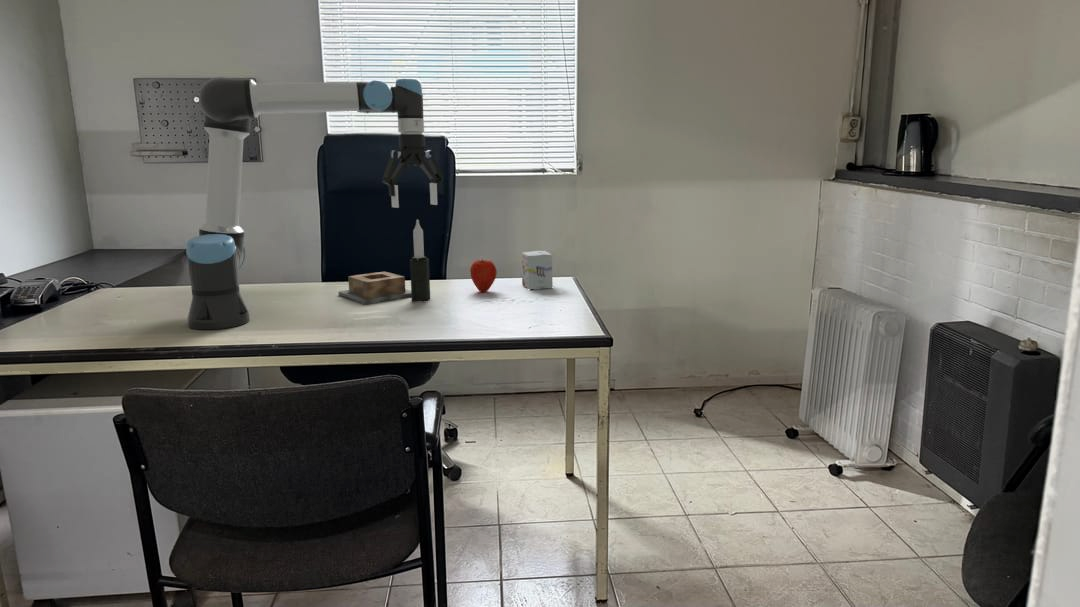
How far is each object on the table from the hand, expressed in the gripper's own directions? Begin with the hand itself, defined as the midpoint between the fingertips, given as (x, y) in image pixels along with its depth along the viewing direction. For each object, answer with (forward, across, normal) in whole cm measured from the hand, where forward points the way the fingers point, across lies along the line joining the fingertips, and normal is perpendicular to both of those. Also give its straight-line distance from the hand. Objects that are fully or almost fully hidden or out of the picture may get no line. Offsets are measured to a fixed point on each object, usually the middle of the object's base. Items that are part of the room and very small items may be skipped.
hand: (415, 206), depth 207 cm
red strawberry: (+29, +22, -4) cm, 37 cm away
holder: (+29, -7, +14) cm, 33 cm away
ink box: (+29, +40, -11) cm, 51 cm away
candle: (+29, 0, -1) cm, 29 cm away
